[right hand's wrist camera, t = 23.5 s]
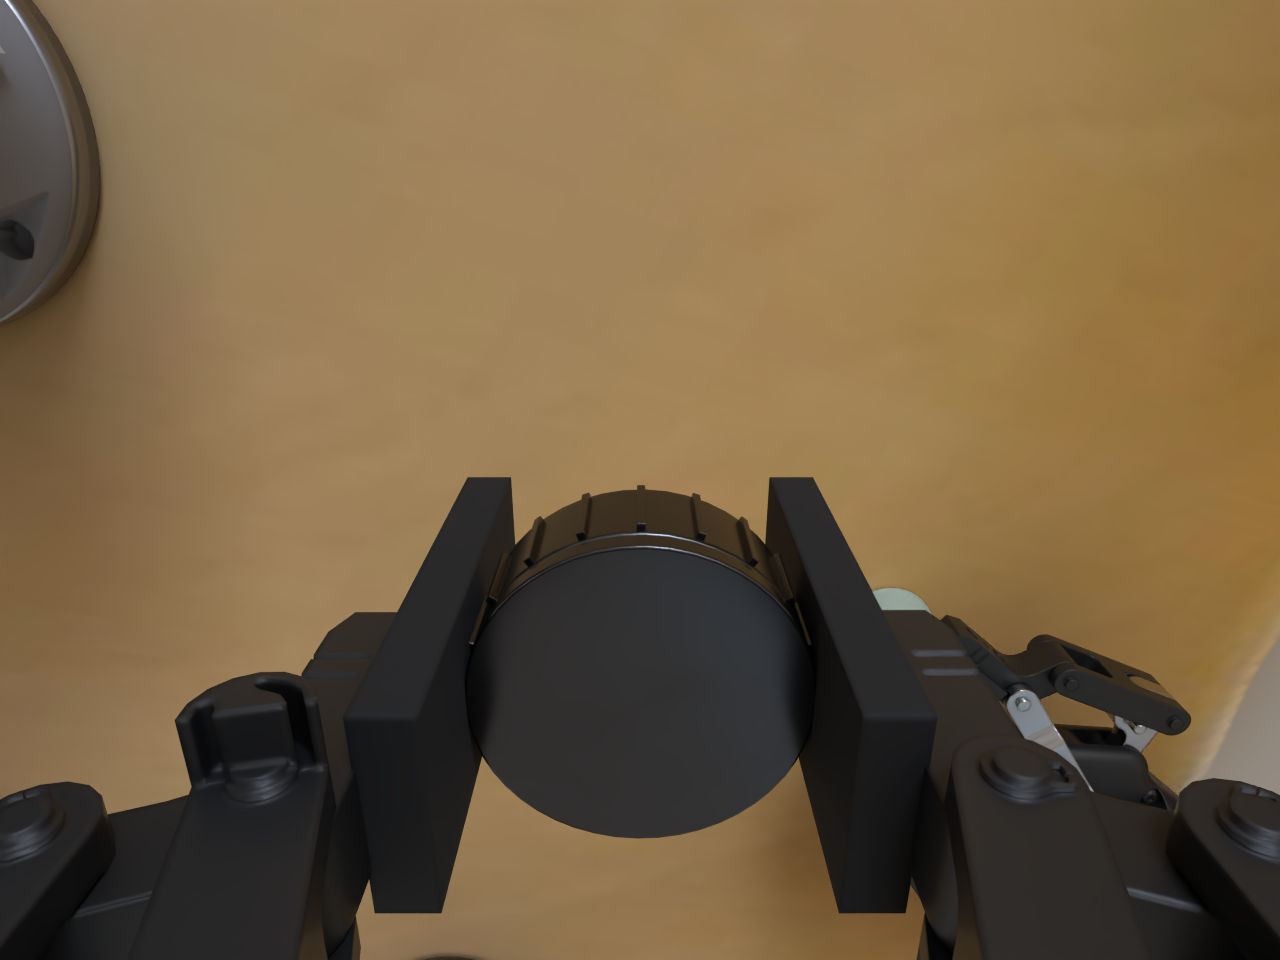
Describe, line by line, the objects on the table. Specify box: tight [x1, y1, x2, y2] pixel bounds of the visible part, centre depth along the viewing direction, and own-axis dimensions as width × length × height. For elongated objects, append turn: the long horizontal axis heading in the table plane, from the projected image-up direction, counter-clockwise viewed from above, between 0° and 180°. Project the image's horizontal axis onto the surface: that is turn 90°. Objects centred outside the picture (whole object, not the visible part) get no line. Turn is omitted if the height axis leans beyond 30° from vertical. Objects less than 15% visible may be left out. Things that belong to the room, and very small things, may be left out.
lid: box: [465, 485, 816, 838], centre depth 11 cm, size 5×5×2 cm
